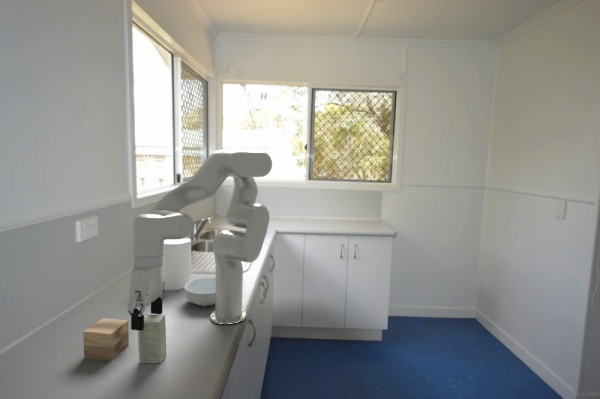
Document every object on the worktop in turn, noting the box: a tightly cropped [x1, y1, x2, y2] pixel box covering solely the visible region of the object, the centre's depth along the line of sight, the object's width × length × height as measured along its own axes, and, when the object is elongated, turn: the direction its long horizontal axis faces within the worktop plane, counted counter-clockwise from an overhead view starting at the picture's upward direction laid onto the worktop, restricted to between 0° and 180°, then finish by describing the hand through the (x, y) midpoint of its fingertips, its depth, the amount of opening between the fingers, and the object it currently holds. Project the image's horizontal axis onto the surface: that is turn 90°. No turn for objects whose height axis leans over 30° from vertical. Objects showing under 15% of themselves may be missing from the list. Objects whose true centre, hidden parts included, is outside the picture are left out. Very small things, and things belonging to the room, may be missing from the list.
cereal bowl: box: [183, 277, 215, 307], centre depth 132 cm, size 17×17×7 cm
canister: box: [163, 237, 192, 291], centre depth 147 cm, size 14×14×20 cm
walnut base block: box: [83, 333, 130, 362], centre depth 96 cm, size 8×8×4 cm
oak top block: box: [82, 317, 130, 348], centre depth 96 cm, size 8×8×4 cm
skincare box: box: [137, 314, 167, 364], centre depth 93 cm, size 6×4×12 cm
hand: (147, 321), depth 92 cm, fingers open, 9 cm apart
